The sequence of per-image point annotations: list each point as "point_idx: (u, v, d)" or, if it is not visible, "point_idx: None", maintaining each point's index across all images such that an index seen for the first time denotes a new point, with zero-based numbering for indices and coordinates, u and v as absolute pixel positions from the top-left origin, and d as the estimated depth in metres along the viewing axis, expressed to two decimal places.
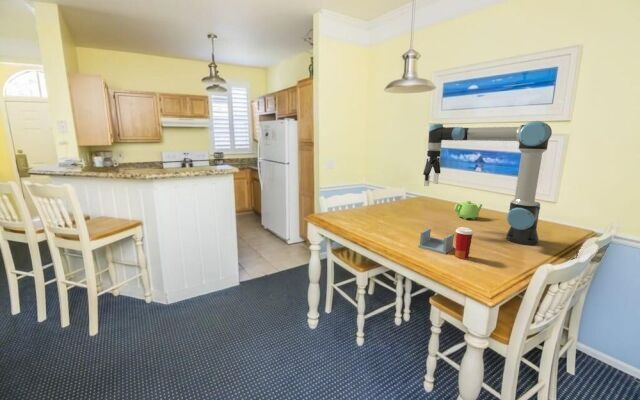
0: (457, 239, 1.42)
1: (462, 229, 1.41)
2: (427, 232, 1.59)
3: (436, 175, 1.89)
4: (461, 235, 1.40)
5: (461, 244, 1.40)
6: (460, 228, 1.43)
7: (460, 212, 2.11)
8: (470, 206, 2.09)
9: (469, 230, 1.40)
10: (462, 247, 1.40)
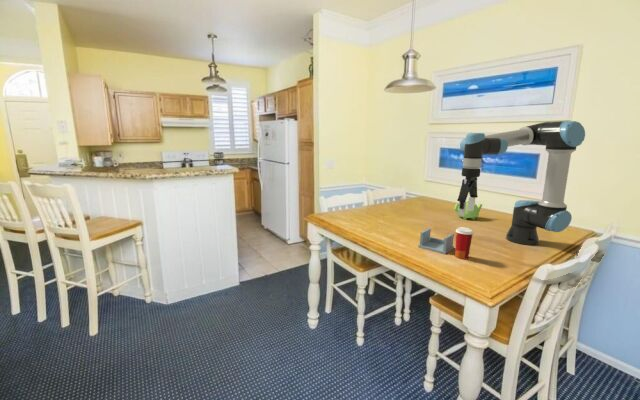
0: (457, 239, 1.42)
1: (462, 229, 1.41)
2: (427, 232, 1.59)
3: (472, 200, 1.43)
4: (461, 235, 1.40)
5: (461, 244, 1.40)
6: (460, 228, 1.43)
7: None
8: None
9: (469, 230, 1.40)
10: (462, 247, 1.40)
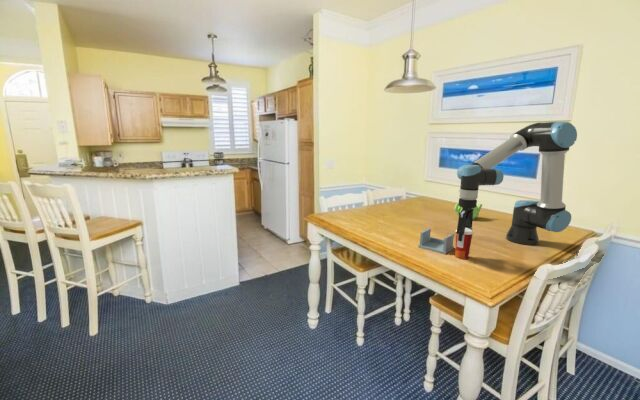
0: None
1: None
2: (427, 232, 1.59)
3: None
4: None
5: None
6: None
7: None
8: None
9: (469, 230, 1.40)
10: None
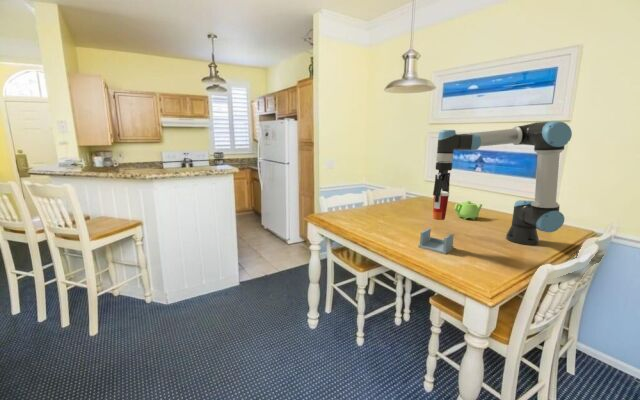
0: None
1: None
2: (427, 232, 1.59)
3: None
4: None
5: None
6: None
7: (460, 212, 2.11)
8: (470, 206, 2.09)
9: (445, 192, 1.49)
10: None
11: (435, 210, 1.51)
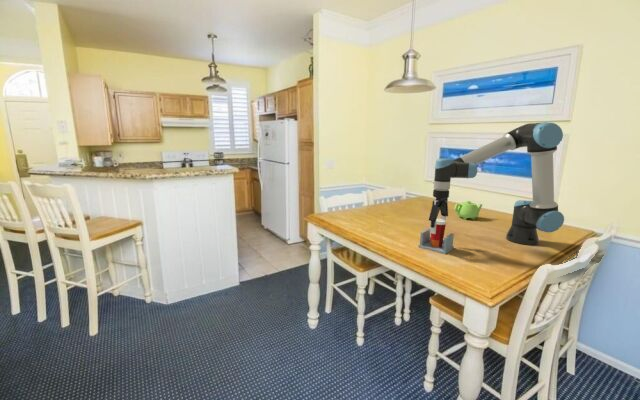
0: None
1: (436, 220, 1.53)
2: (427, 232, 1.59)
3: (443, 218, 1.57)
4: None
5: None
6: None
7: (460, 212, 2.11)
8: (470, 206, 2.09)
9: (442, 221, 1.52)
10: (436, 236, 1.52)
11: (432, 238, 1.54)
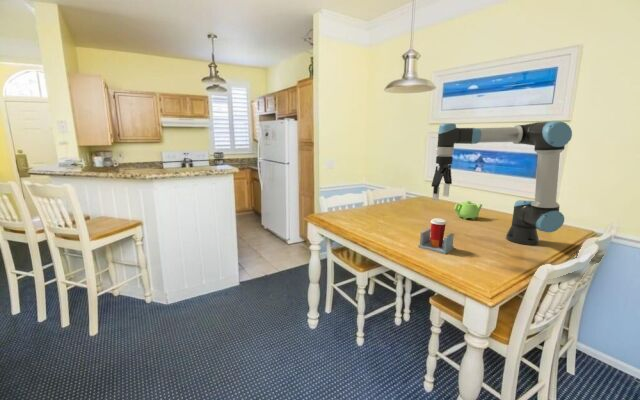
0: (432, 229, 1.54)
1: (436, 220, 1.53)
2: (427, 232, 1.59)
3: (446, 186, 1.54)
4: (434, 225, 1.51)
5: (435, 233, 1.52)
6: (434, 219, 1.55)
7: (460, 212, 2.11)
8: (470, 206, 2.09)
9: (442, 221, 1.52)
10: (436, 236, 1.52)
11: (432, 238, 1.54)
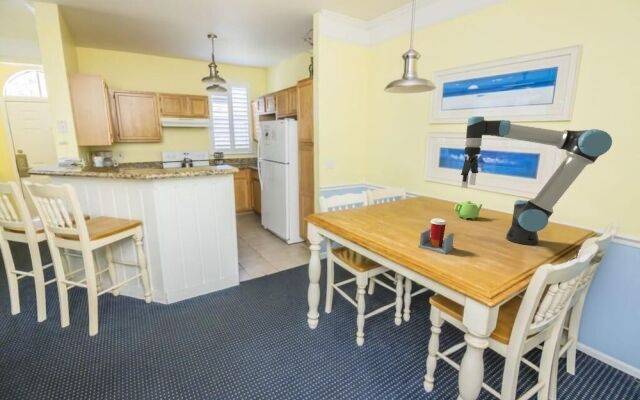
0: (432, 229, 1.54)
1: (436, 220, 1.53)
2: (427, 232, 1.59)
3: (473, 175, 1.66)
4: (435, 225, 1.51)
5: (435, 233, 1.52)
6: (435, 219, 1.55)
7: (460, 212, 2.11)
8: (470, 206, 2.09)
9: (442, 221, 1.52)
10: (436, 236, 1.52)
11: (432, 238, 1.54)
